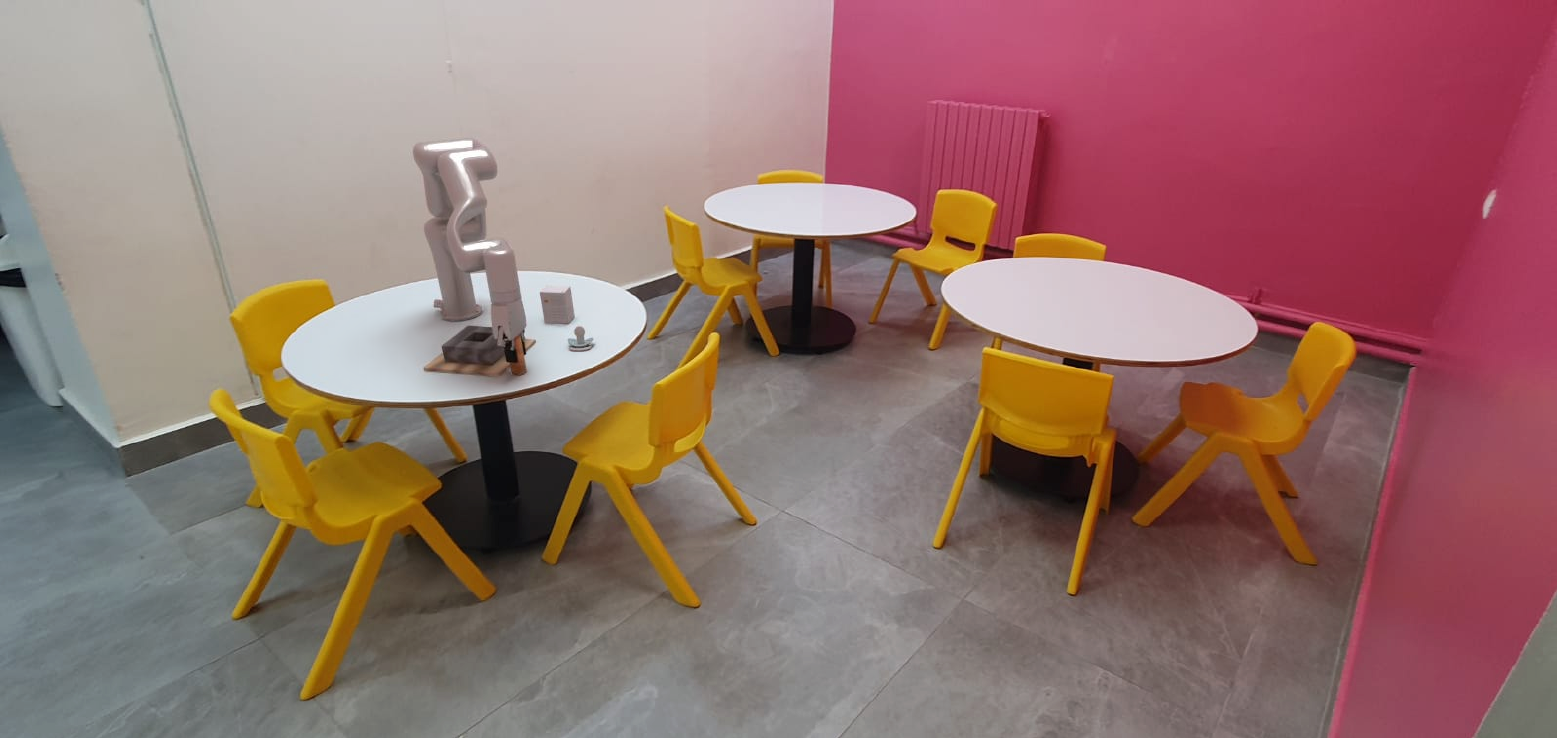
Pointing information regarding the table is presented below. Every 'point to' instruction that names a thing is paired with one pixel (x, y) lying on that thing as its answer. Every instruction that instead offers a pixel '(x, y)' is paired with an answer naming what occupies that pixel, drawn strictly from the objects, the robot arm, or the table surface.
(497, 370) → the socket
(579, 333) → the pacifier
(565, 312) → the small box
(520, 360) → the peg
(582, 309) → the table surface
